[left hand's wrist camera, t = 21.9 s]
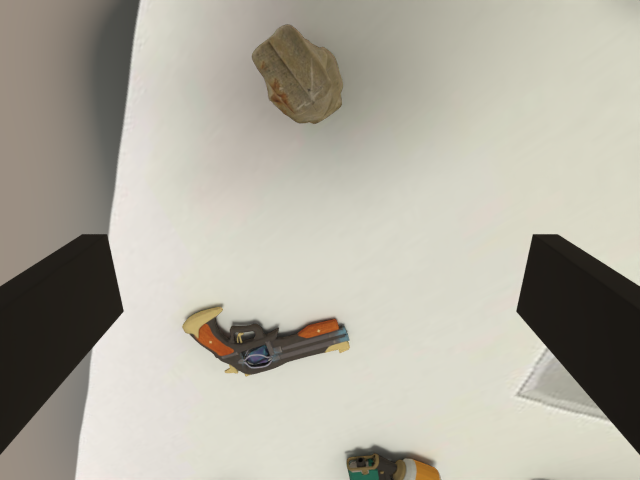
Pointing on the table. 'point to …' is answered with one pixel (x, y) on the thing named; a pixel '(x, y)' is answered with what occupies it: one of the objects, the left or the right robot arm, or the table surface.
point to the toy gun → (263, 342)
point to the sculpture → (299, 76)
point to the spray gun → (389, 469)
